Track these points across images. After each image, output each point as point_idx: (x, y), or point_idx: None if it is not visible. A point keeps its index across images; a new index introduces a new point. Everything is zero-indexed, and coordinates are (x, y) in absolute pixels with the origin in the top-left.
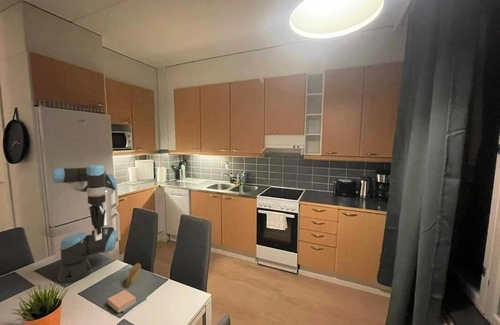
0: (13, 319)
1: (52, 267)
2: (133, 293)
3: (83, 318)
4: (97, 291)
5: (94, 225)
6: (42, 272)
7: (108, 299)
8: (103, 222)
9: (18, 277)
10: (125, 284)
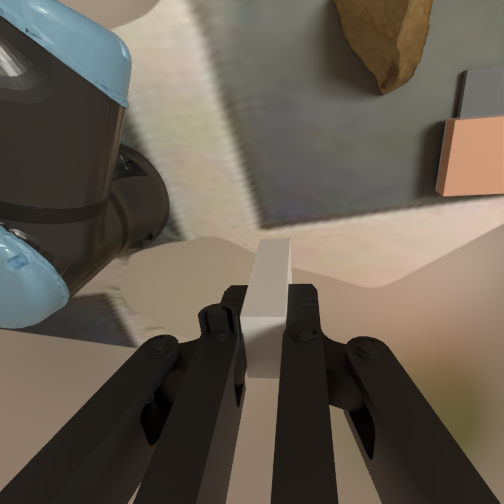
0: None
1: None
2: (481, 89)
3: (420, 259)
4: (308, 182)
5: (241, 402)
6: None
7: (451, 195)
8: (431, 418)
9: None
10: (392, 89)
